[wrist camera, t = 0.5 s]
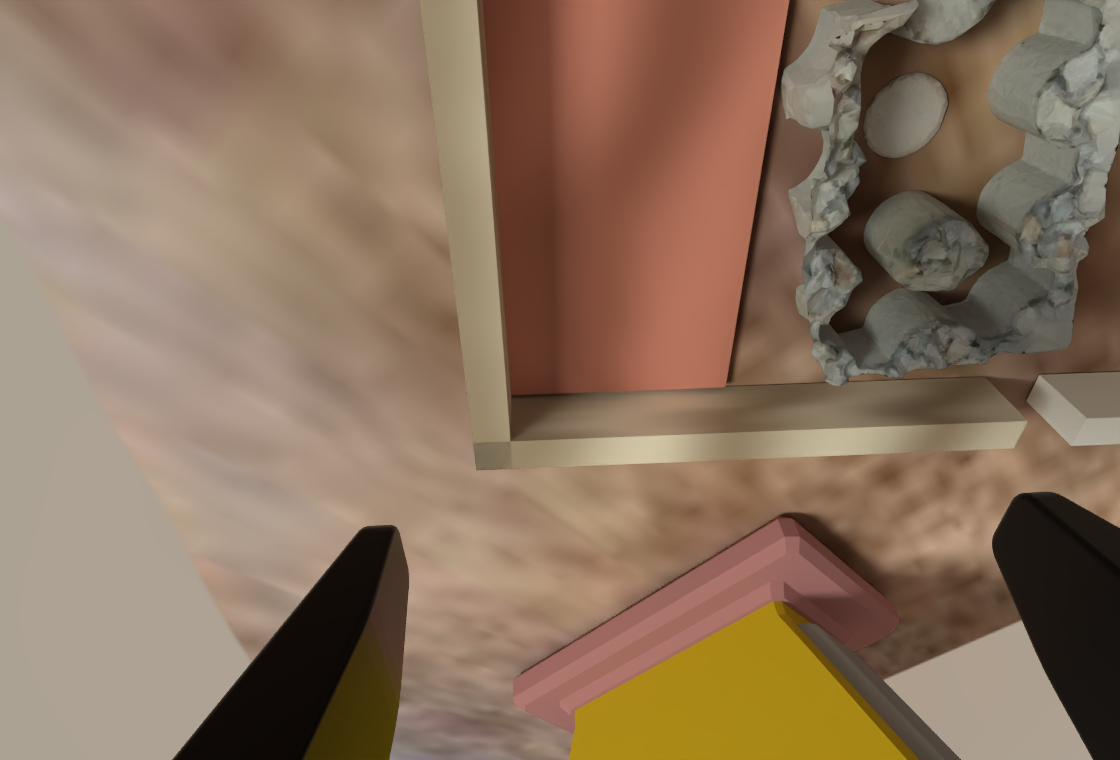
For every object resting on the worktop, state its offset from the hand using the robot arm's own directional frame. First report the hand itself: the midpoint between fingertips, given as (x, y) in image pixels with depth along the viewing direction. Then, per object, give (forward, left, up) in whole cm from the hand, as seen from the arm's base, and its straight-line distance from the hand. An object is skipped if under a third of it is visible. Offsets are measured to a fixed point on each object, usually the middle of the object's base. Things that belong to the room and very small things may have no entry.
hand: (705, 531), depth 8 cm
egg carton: (-9, 0, -14) cm, 16 cm away
